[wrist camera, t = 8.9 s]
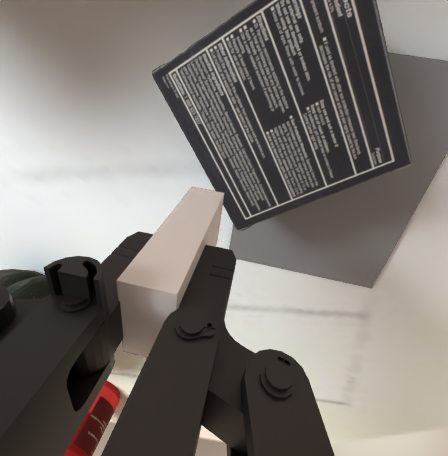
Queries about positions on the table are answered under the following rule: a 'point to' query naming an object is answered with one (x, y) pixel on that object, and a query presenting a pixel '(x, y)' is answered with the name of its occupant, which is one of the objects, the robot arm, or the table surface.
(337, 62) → the small box
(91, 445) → the canned food
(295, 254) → the mat
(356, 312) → the table surface
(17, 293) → the squash
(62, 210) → the table surface
